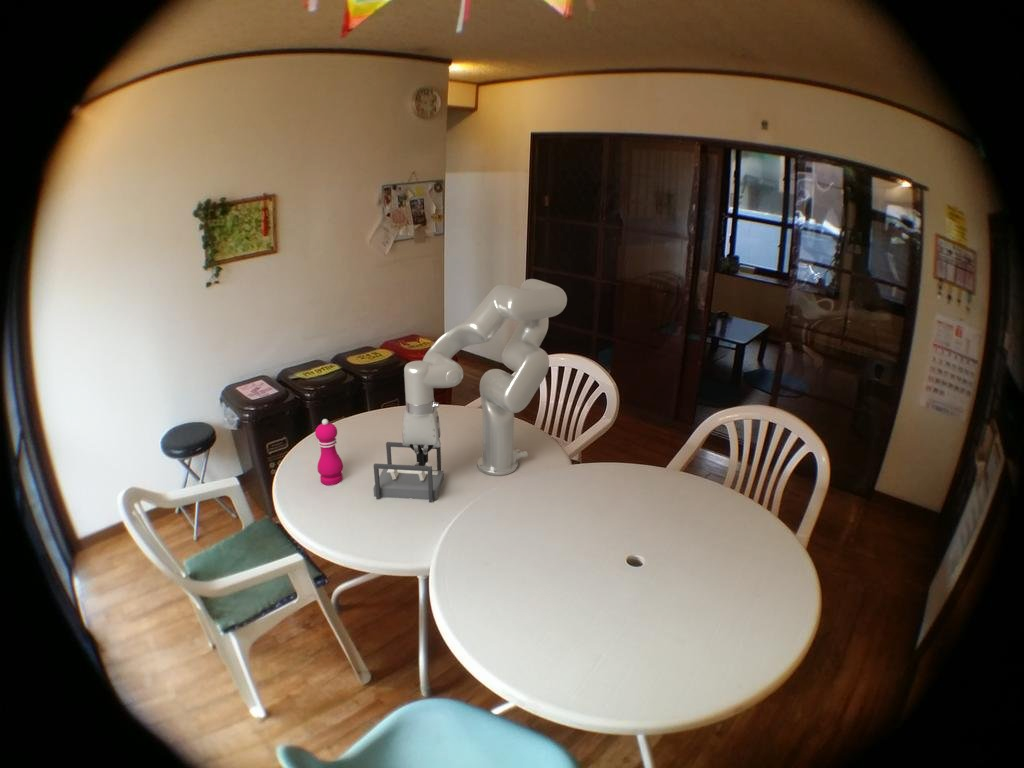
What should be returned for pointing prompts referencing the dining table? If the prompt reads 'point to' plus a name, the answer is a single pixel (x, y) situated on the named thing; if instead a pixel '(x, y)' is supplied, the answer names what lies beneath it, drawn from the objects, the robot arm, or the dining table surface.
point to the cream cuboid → (422, 475)
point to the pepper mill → (328, 454)
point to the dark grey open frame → (405, 468)
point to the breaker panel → (409, 484)
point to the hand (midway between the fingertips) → (422, 464)
